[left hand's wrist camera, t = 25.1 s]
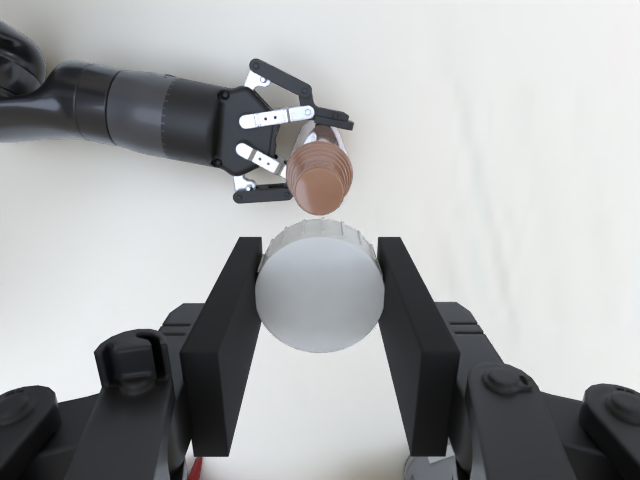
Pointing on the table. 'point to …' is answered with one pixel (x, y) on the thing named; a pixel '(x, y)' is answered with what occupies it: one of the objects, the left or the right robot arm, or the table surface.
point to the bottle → (319, 169)
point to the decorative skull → (195, 470)
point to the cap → (319, 286)
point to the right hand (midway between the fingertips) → (345, 152)
